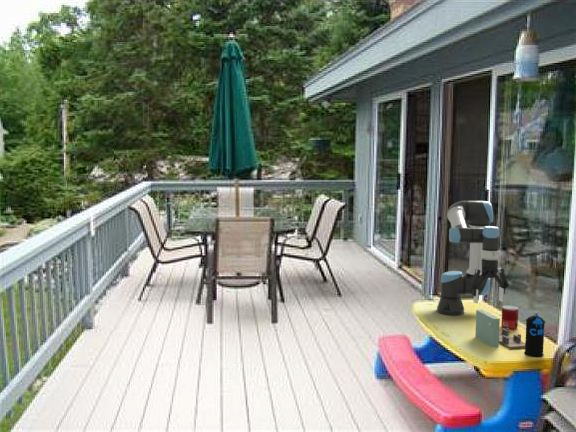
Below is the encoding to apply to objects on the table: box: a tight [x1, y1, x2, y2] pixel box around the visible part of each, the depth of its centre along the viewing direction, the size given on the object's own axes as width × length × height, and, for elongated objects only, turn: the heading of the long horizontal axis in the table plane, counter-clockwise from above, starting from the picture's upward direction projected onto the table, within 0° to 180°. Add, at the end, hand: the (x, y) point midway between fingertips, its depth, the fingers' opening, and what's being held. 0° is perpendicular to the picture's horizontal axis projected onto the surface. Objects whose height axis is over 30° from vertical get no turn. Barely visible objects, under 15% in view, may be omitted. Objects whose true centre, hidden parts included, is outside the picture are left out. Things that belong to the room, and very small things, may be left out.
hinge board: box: [499, 327, 525, 350], centre depth 289 cm, size 24×10×4 cm, turn 12°
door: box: [475, 309, 501, 348], centre depth 286 cm, size 16×4×14 cm, turn 12°
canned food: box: [501, 305, 519, 331], centre depth 309 cm, size 8×8×11 cm
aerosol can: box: [523, 311, 546, 358], centre depth 269 cm, size 8×8×20 cm
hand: (488, 301), depth 284 cm, fingers open, 13 cm apart
